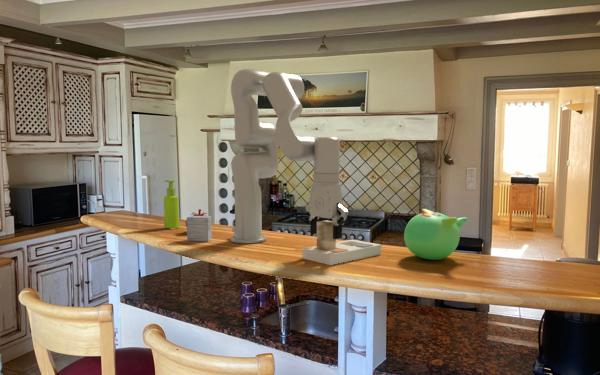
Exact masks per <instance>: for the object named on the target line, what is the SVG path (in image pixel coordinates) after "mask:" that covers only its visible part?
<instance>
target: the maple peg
mask: <svg viewBox="0 0 600 375" xmlns="http://www.w3.org/2000/svg"><path fill="white" fill-rule="evenodd" d="M333 225H335V224H334V222H333V220H327V219H326V220H319V221H318V222H317V234H316V246H317V249H319V250H323V251H330V250H334V249H336V242H337V239H333Z"/></svg>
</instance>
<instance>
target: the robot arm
mask: <svg viewBox="0 0 600 375" xmlns="http://www.w3.org/2000/svg"><path fill="white" fill-rule="evenodd" d="M230 84H231V85H230V93H231V99H232V103H233V109H234V110H233V112H234V114H233V116H234V118H233V119H234V120H233V121H234V140H235V143H236V145H237V146H238V147H240V148H243V149H258V150H259V151H243V152H239V153H236V154H235V155H234V156H233V157H232V160H231V163H230V165H231V166H230V168H231V173H232V178H233V185H234V186H233V188H234V227H233V228H231V232H232V233H233V234H234V235H232V236H231V237H230V242H232V243H236V244H257V243H262V242H265V241H266V240H267V236H266V235H262V234H263V228H262V224H263V222H262V218H263V217H262V212H263V211H262V210H263V209H262V206H263V205H262V188H261V186H260V184H259V182H258V180H257V179H269V178H273V177H274V176H275V175H276V174H277V172H278V168H279V148H280V150H281V152H282V153H283V155H284V156H285V158H287V159H288V160H289V161H291V162H313V177H312V178H313V182H312V184H311V187H310V192H309V203H308V204H306V205H305V210H306V214H307V216H308V221H310V225H309V226H310V227H309V228H310V229H309V230H310V231H309V233H310V235H317V222H318V221H320V220H319V219H320V218H323V219H328V220H329V219H331V221H333V222H334V224H335V225H333V239H336V240H339V239H342V237H343V226H344V224H345V222H346V221H347V218H348V216H349V214H350V213H349V210H348V209H347V208H346V207H344V206H343V194H342V187H341V184H340V165H341V164H340V163H341V162H340V161H341V160H340V158H341V157H340V155H341V154H340V152H341V150H340V148H341V142H340V139H339V138H338V137H335V136H309V135H307V136H306V135H305V136H304V135H297V134H296V133H295V130H294V129H293V127H292V124H291V123H292V122H293V121H295V120H297V119H298V118H299V116H300V115H301V114H302V112H303V105H302V103H301V101H300V98H302V97H303V95H304V93H305V84H304V81H303V79H302V78H301V76H299V75H297V74H294V73H288V72H282V71H268V70H262V69H254V68H243V69H240V70H237V72H236V73H235V74H234V75H233V76H232V79H231V83H230ZM253 96H263V97H267V99H268V101H269V103H270V104H271V106H272V108H273V110H274V113H275V114H276V117H277V120H276V123H275V126H274V124H272V123H270V122H267V121H260V117H259V107H258V104H257V102H256V101H255V99H254V98H253Z"/></svg>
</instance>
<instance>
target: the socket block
mask: <svg viewBox="0 0 600 375" xmlns="http://www.w3.org/2000/svg"><path fill="white" fill-rule="evenodd" d="M301 251H302V253H301V254H302V256H301V257H302V259H303V260H308V261H311V262H316V263H320V264H323V263H324V264H323V265H327V266H334V264H335V265H339V264H344V263H347V262H348V261H349V262H352V260H353V261H357V260H362V259H367V258H370V257H371V258H372V257H376V256H380V255H382V244H380V243H379V244H378V243H374V242H369V241H364V240H363V241H362V240H357V239H348V240H342V241H336V249H334V250H330V251H323V250H319V249H317V245H314V246H313V245H312V246H307V247H303V248H301ZM343 262H344V263H343ZM338 263H339V264H338Z"/></svg>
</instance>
